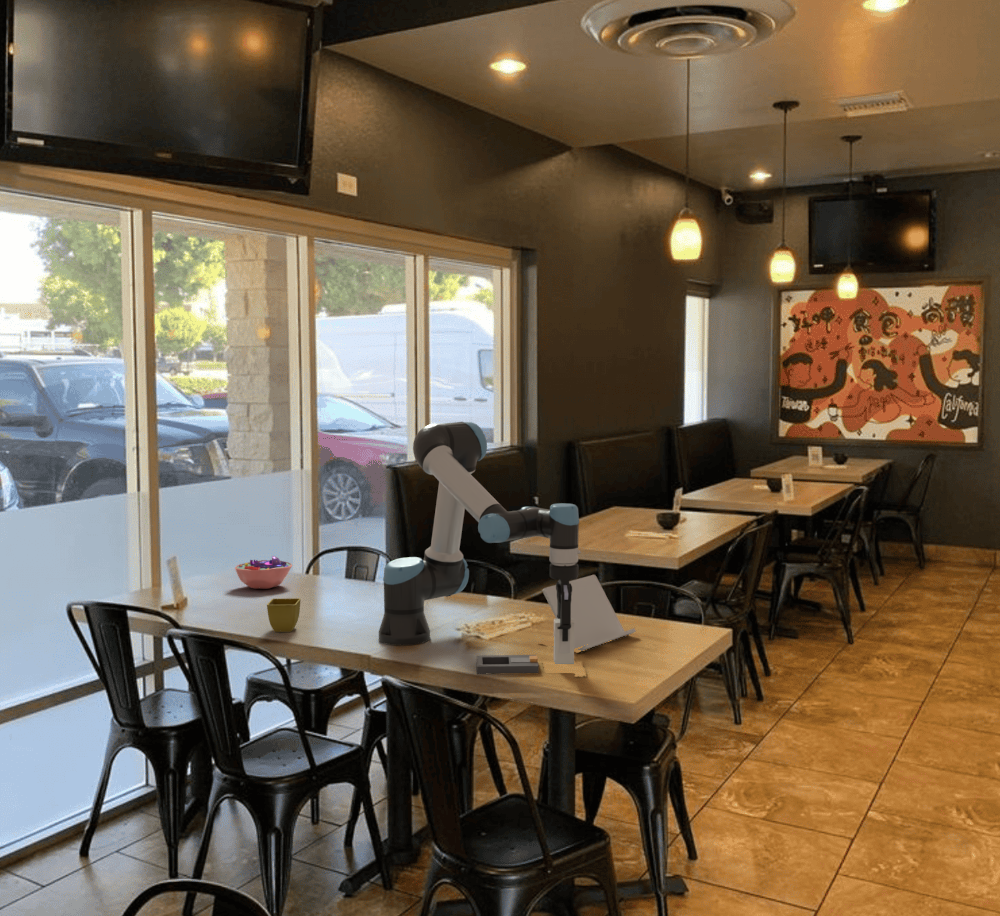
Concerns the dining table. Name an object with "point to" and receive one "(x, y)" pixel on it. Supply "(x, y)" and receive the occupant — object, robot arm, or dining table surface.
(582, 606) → the tablet stand
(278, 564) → the cell model
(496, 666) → the grey slotted tray
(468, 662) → the dining table surface
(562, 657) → the block
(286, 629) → the flower pot
